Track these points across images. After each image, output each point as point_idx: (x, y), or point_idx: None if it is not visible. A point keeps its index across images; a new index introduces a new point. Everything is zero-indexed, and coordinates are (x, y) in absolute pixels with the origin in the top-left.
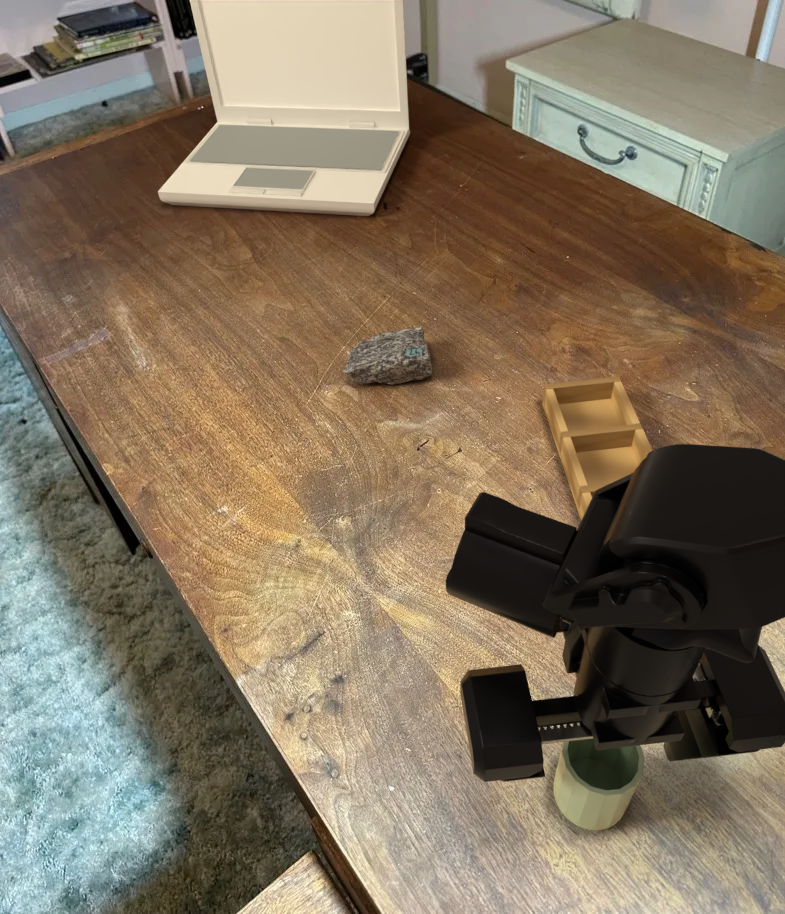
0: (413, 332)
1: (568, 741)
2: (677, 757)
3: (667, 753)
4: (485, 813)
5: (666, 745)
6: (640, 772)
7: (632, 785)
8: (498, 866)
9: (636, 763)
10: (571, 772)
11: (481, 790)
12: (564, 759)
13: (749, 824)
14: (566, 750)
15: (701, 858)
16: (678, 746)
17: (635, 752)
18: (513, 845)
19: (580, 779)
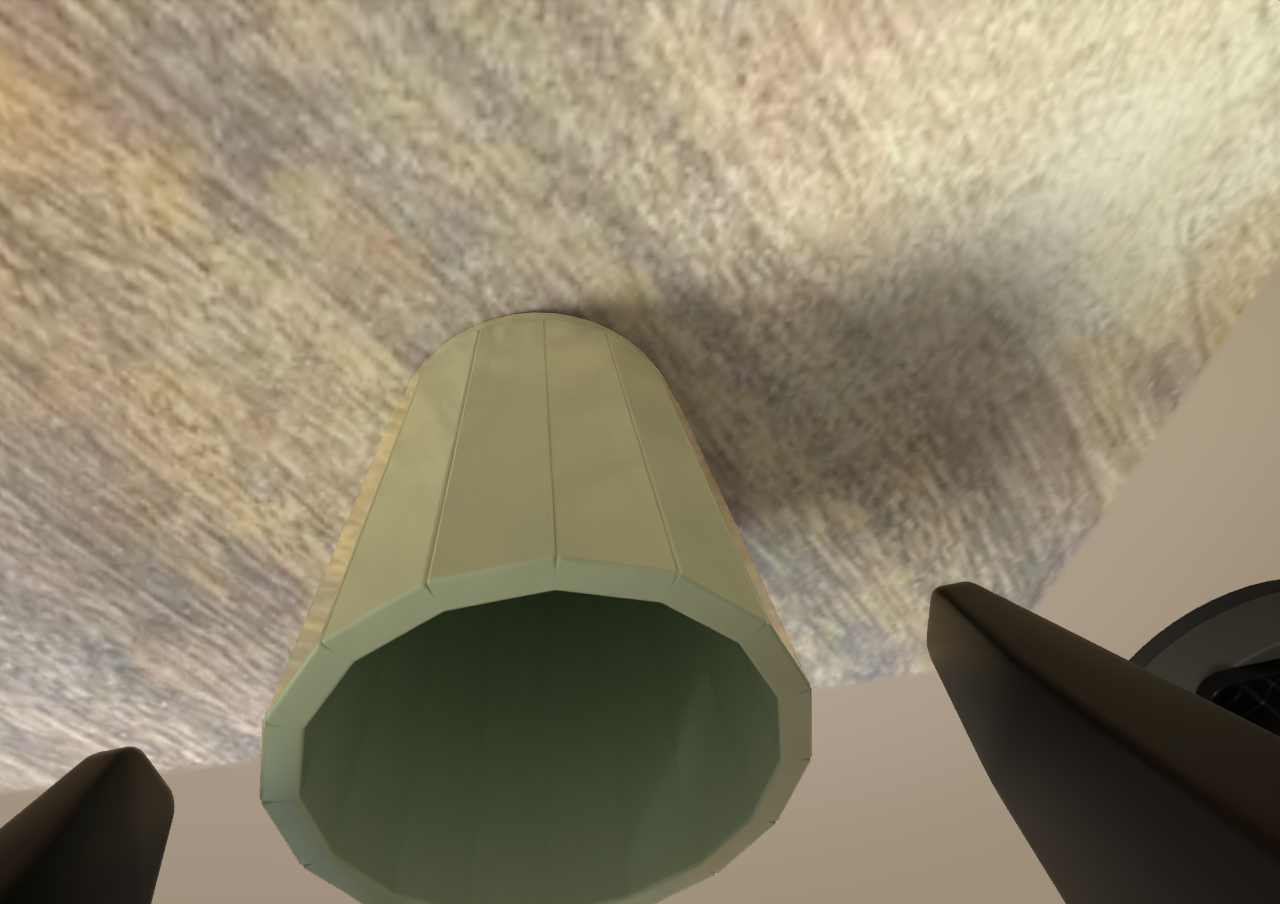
0: None
1: (299, 749)
2: (1021, 818)
3: (945, 648)
4: (129, 550)
5: (966, 646)
6: (763, 826)
7: (701, 876)
8: (226, 682)
9: (752, 690)
10: (341, 884)
11: (82, 474)
12: (284, 839)
13: (1041, 497)
14: (291, 796)
15: (860, 593)
16: (1085, 860)
17: (765, 692)
18: (266, 627)
19: (403, 896)
